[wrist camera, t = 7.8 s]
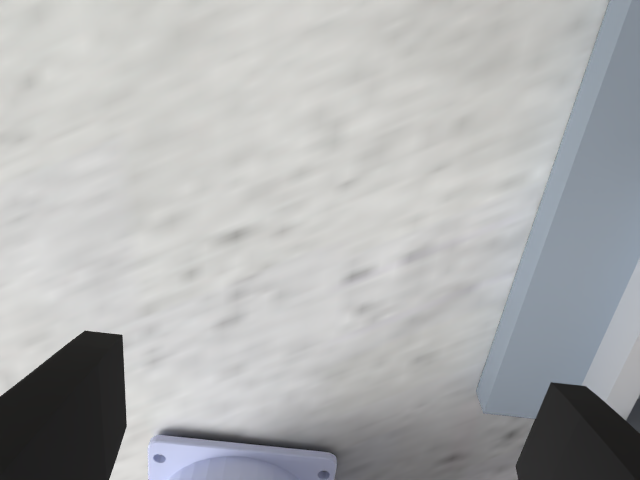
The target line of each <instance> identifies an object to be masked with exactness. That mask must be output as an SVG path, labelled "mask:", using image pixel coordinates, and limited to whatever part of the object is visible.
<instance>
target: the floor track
mask: <svg viewBox="0 0 640 480" xmlns="http://www.w3.org/2000/svg"><path fill="white" fill-rule="evenodd" d="M551 382H553V383H562V384H571V385H581V386H586V387H588V388H589V389H590V390H591V391H592V392H594V393H595V394H596V395H597V396H599V397H600V398H601V399H602V400H603V401H604V402H605V403H607V404H608V405H609V406H610V407H611V408H612V409H613V410H615V411H616V412H617V413H618V414H619V415H620V416H621V417H622V418H623V419H624V420H626V421H627V422H628V423H629V424H630V425H631V426H632V427H633V428H634V429H635V430H637V431H638V432H639V433H640V0H610V1H609V4H608V7H607V10H606V13H605V16H604V19H603V22H602V25H601V28H600V30H599V33H598V36H597V39H596V42H595V45H594V48H593V51H592V54H591V57H590V60H589V63H588V66H587V68H586V71H585V74H584V77H583V80H582V83H581V86H580V89H579V92H578V95H577V98H576V101H575V104H574V106H573V109H572V112H571V115H570V118H569V121H568V124H567V127H566V130H565V133H564V136H563V139H562V141H561V144H560V147H559V150H558V153H557V156H556V159H555V162H554V165H553V168H552V171H551V174H550V177H549V179H548V182H547V185H546V188H545V191H544V194H543V197H542V200H541V203H540V206H539V209H538V212H537V215H536V217H535V220H534V223H533V226H532V229H531V232H530V235H529V238H528V241H527V244H526V247H525V250H524V253H523V255H522V258H521V261H520V264H519V267H518V270H517V273H516V276H515V279H514V282H513V285H512V288H511V291H510V293H509V296H508V299H507V302H506V305H505V308H504V311H503V314H502V317H501V320H500V323H499V326H498V329H497V331H496V334H495V337H494V340H493V343H492V346H491V349H490V352H489V355H488V358H487V361H486V364H485V367H484V369H483V372H482V375H481V378H480V381H479V384H478V387H477V390H476V392H477V395H478V398H479V401H480V404H481V407H482V410H483V413H486V414H495V415H504V416H514V417H523V418H532V419H536V416H537V414H538V412H539V409H540V407H541V404H542V402H543V400H544V397H545V395H546V393H547V390H548V388H549V385H550V383H551Z"/></svg>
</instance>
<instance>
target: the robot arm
mask: <svg viewBox="0 0 640 480" xmlns="http://www.w3.org/2000/svg"><path fill="white" fill-rule="evenodd" d="M126 426H127V424H126V403H125V381H124V359H123V338H122V335H118V334H109V333H100V332H91V331H84V332H83V333H81V334H80V335H79V336H77V337H76V338H75V339H73V340H72V341H71V342H69V343H68V344H67V345H65V346H64V347H63V348H62V349H60V350H59V351H58V352H57V353H55V354H54V355H53V356H51V357H50V358H49V359H48V360H46V361H45V362H44V363H43V364H41V365H40V366H39V367H38V368H36V369H35V370H34V371H33V372H31V373H30V374H29V375H27V376H26V377H25V378H24V379H22V380H21V381H20V382H18V383H17V384H16V385H15V386H13V387H12V388H11V389H9V390H8V391H7V392H5V393H4V394H3V395H1V396H0V480H109V478H110V475H111V472H112V470H113V467H114V464H115V461H116V458H117V455H118V451H119V448H120V445H121V442H122V439H123V436H124V433H125V429H126ZM159 454H161V455H159ZM336 469H337V458H336V457H335V455H333V454H332V453H329V452H322V451H312V450H302V449H292V448H282V447H273V446H263V445H253V444H243V443H234V442H224V441H214V440H204V439H195V438H185V437H175V436H165V435H157V436H154V437H152V438H151V440H150V442H149V445H148V480H334V479H335V474H336ZM516 470H517V475H518V480H640V433H639V432H638V431H637V430H635V429H634V428H633V427H632V426H631V425H630V424H629V423H628V422H627V421H626V420H624V419H623V418H622V417H621V416H620V415H619V414H618V413H617V412H616V411H615V410H613V409H612V408H611V407H610V406H609V405H608V404H607V403H605V402H604V401H603V400H602V399H601V398H600V397H599V396H597V395H596V394H595V393H594V392H592V391H591V390H590V389H589V388H588V387H586V386H581V385H571V384H562V383H553V382H551V383H550V385H549V388H548V390H547V393H546V395H545V397H544V400H543V402H542V404H541V407H540V409H539V412H538V414H537V416H536V419H535V421H534V423H533V426H532V428H531V431H530V433H529V435H528V438H527V440H526V442H525V445H524V447H523V450H522V452H521V454H520V457H519V459H518V461H517V464H516ZM323 471H324V472H323Z"/></svg>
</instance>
